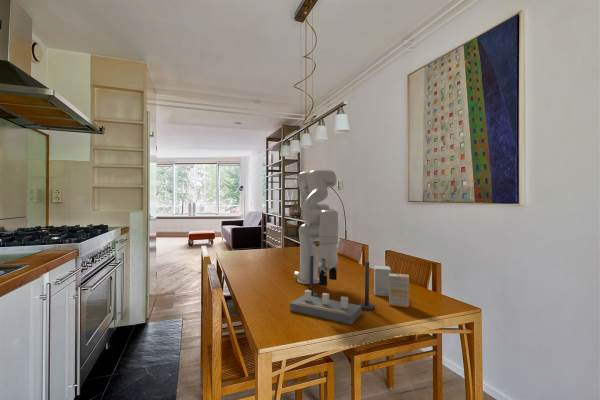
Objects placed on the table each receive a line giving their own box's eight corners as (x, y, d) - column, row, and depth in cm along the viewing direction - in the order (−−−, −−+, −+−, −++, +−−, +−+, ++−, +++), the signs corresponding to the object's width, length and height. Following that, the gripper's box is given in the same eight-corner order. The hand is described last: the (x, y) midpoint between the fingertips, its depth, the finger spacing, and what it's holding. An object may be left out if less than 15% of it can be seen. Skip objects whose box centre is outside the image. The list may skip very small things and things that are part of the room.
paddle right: (340, 307, 114) (340, 297, 114) (342, 306, 116) (342, 296, 116) (346, 308, 113) (346, 298, 113) (348, 307, 114) (348, 297, 114)
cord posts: (302, 297, 135) (302, 256, 135) (308, 294, 140) (309, 254, 140) (371, 311, 119) (372, 264, 119) (375, 306, 124) (376, 261, 124)
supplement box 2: (408, 304, 127) (409, 274, 127) (409, 308, 123) (409, 277, 123) (388, 302, 130) (389, 272, 130) (388, 305, 126) (388, 275, 126)
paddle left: (304, 300, 122) (304, 290, 122) (306, 299, 123) (306, 289, 123) (309, 301, 121) (309, 291, 121) (311, 300, 122) (311, 290, 122)
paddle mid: (321, 303, 118) (322, 294, 118) (323, 302, 119) (323, 292, 119) (327, 305, 117) (327, 295, 117) (329, 303, 118) (329, 293, 118)
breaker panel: (290, 310, 119) (290, 302, 119) (304, 301, 130) (304, 294, 130) (351, 324, 107) (351, 315, 107) (361, 313, 117) (361, 305, 117)
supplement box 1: (390, 296, 138) (391, 269, 137) (374, 295, 139) (374, 268, 139) (389, 291, 145) (389, 266, 145) (373, 290, 146) (374, 265, 146)
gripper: (328, 237, 129) (328, 276, 129) (310, 242, 114) (310, 286, 114) (344, 238, 126) (344, 278, 126) (328, 243, 111) (327, 289, 111)
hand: (328, 282), depth 120 cm, fingers open, 9 cm apart
